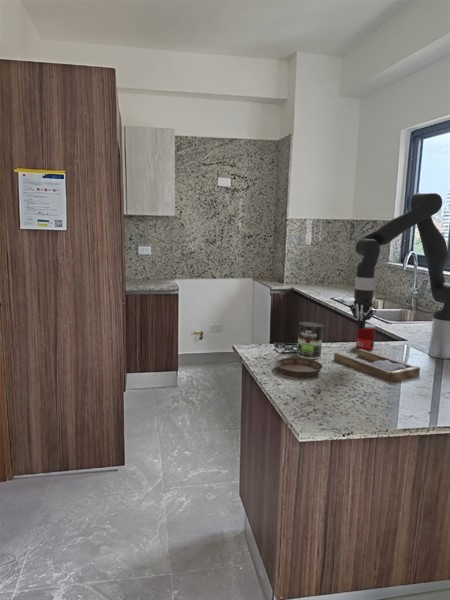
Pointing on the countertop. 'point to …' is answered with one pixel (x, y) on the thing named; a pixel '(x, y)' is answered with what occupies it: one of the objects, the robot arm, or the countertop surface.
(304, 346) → the coffee can
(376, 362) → the stone block
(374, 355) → the wooden serving tray
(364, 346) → the canned food
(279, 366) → the plant saucer
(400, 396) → the countertop surface
